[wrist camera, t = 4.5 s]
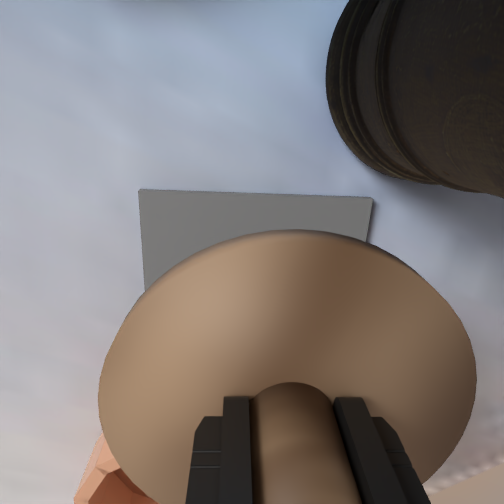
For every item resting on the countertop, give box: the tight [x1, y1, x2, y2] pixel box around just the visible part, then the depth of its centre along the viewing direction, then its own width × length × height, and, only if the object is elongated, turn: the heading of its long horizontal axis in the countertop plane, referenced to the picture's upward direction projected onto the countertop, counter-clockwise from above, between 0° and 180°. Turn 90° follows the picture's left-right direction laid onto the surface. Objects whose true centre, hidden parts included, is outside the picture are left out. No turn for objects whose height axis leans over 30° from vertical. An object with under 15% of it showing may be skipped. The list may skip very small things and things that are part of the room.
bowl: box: [74, 433, 159, 504], centre depth 21 cm, size 10×10×4 cm
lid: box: [98, 229, 477, 504], centre depth 9 cm, size 11×11×5 cm
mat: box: [138, 189, 373, 291], centre depth 19 cm, size 11×9×1 cm
